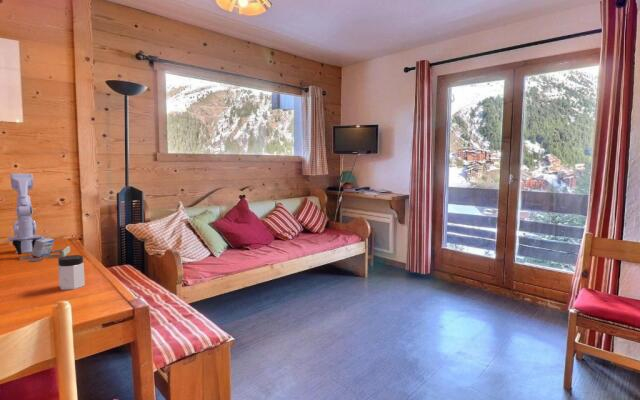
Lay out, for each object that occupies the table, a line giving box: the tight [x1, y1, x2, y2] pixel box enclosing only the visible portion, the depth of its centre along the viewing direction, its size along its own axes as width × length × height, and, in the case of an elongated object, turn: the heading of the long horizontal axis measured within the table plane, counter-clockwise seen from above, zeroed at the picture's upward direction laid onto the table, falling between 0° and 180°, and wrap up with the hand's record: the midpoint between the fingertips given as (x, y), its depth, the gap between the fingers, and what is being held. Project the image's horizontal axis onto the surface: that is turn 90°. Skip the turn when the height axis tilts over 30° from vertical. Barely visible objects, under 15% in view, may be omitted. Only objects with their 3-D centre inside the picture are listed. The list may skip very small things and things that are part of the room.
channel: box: [19, 245, 71, 261], centre depth 196 cm, size 14×19×3 cm
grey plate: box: [27, 248, 63, 263], centre depth 196 cm, size 28×7×1 cm, turn 8°
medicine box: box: [31, 237, 55, 258], centre depth 194 cm, size 8×4×9 cm, turn 0°
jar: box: [57, 254, 86, 291], centre depth 145 cm, size 9×8×12 cm
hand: (27, 253), depth 192 cm, fingers open, 5 cm apart
